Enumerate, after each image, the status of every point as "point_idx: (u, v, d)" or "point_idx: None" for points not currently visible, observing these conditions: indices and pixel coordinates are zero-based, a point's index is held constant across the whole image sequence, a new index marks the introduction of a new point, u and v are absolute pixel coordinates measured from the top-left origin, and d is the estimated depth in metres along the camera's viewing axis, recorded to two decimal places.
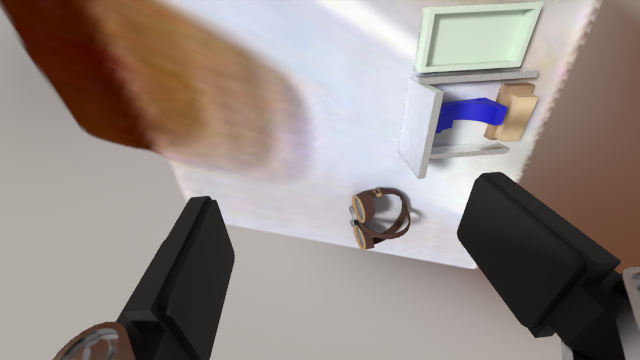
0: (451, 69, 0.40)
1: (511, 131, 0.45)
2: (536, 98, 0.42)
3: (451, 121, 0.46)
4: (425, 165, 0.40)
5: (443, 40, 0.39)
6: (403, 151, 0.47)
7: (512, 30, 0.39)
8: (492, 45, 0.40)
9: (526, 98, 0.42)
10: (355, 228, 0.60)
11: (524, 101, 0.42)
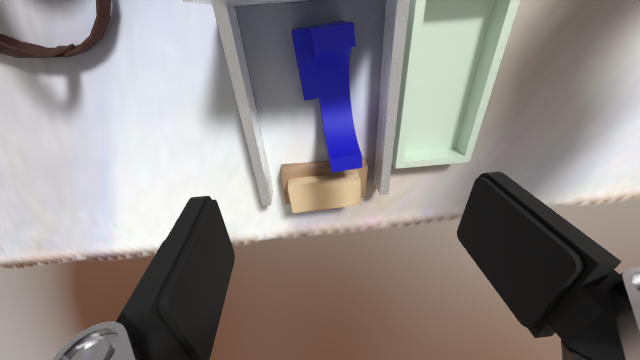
0: (410, 57, 0.22)
1: (306, 195, 0.28)
2: (358, 202, 0.29)
3: (316, 95, 0.24)
4: None
5: (448, 35, 0.23)
6: None
7: (435, 142, 0.29)
8: (421, 123, 0.28)
9: (358, 190, 0.28)
10: None
11: (354, 190, 0.28)
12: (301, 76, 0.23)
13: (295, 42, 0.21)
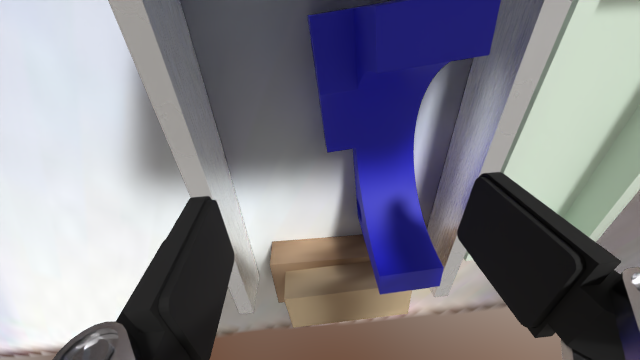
0: (547, 80, 0.10)
1: (316, 306, 0.16)
2: (404, 311, 0.17)
3: (351, 144, 0.13)
4: None
5: (612, 37, 0.11)
6: None
7: None
8: None
9: (407, 296, 0.16)
10: None
11: (399, 296, 0.16)
12: (325, 112, 0.11)
13: (317, 42, 0.09)
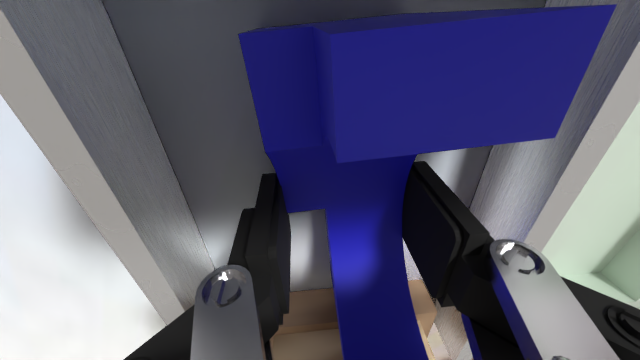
0: (628, 122, 0.07)
1: None
2: None
3: (319, 204, 0.09)
4: None
5: None
6: None
7: (567, 264, 0.14)
8: None
9: None
10: None
11: None
12: (278, 168, 0.08)
13: (255, 76, 0.05)
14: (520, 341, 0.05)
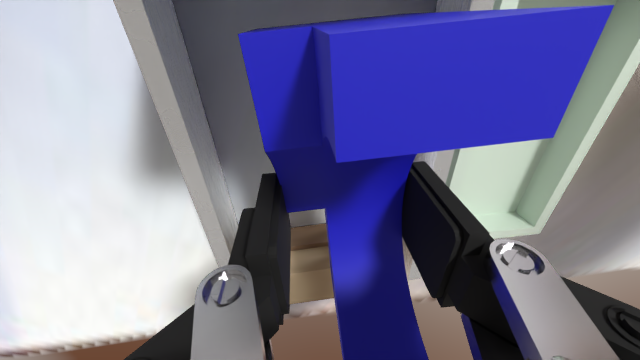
0: None
1: (298, 284, 0.18)
2: None
3: (319, 204, 0.09)
4: None
5: None
6: None
7: (488, 204, 0.20)
8: (473, 179, 0.18)
9: None
10: None
11: None
12: (278, 168, 0.08)
13: (255, 76, 0.05)
14: (520, 341, 0.05)
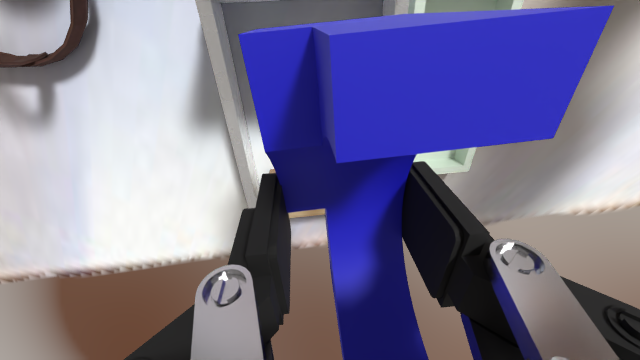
0: None
1: None
2: None
3: (319, 204, 0.09)
4: None
5: None
6: None
7: None
8: None
9: None
10: None
11: None
12: (278, 168, 0.08)
13: (255, 76, 0.05)
14: (520, 341, 0.05)
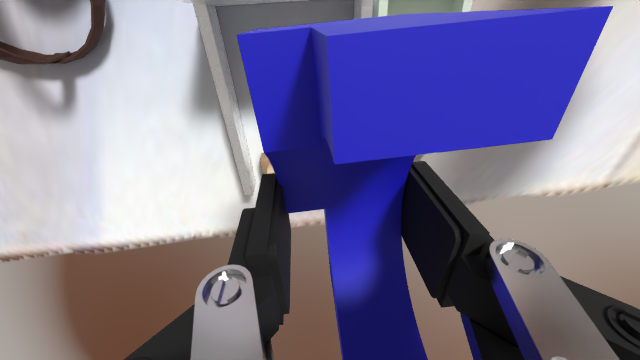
0: None
1: None
2: None
3: (318, 204, 0.09)
4: None
5: None
6: None
7: None
8: None
9: None
10: None
11: None
12: (277, 169, 0.08)
13: (253, 77, 0.05)
14: (520, 341, 0.05)
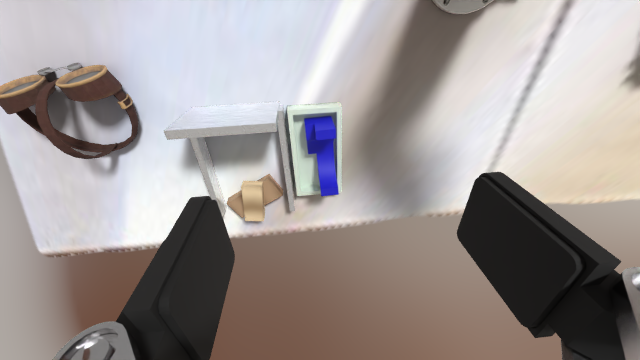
0: (291, 140, 0.42)
1: (251, 213, 0.48)
2: (259, 188, 0.45)
3: (315, 152, 0.44)
4: (186, 135, 0.32)
5: None
6: (194, 111, 0.38)
7: None
8: (311, 170, 0.47)
9: (249, 188, 0.44)
10: (36, 78, 0.35)
11: (248, 190, 0.45)
12: (307, 143, 0.42)
13: (306, 129, 0.40)
14: None
